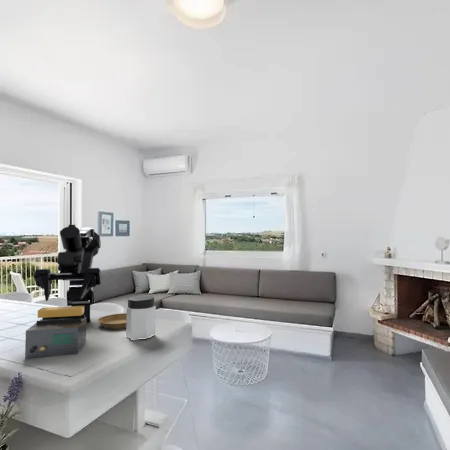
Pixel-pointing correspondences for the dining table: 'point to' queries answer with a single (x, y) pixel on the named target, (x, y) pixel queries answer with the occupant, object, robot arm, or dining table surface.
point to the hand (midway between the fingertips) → (63, 299)
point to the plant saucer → (113, 321)
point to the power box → (56, 336)
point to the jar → (140, 317)
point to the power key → (61, 311)
